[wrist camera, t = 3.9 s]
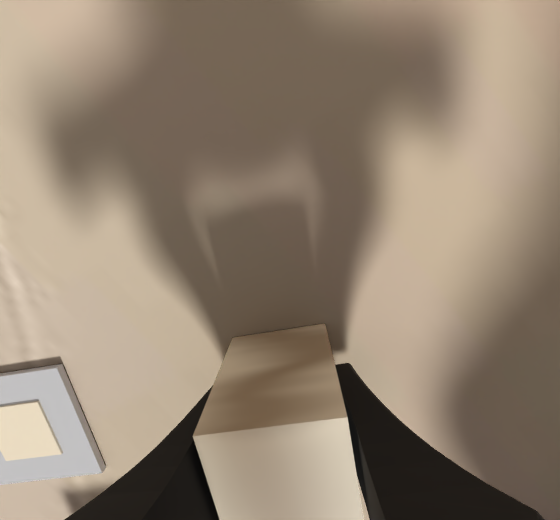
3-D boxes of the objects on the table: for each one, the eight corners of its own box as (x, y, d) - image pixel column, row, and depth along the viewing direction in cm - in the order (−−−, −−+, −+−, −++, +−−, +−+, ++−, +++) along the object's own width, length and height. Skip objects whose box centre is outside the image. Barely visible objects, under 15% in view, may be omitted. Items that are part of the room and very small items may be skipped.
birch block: (325, 323, 12) (347, 417, 7) (338, 403, 13) (366, 535, 8) (232, 337, 12) (192, 436, 7) (252, 414, 13) (228, 547, 8)
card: (62, 363, 13) (54, 369, 12) (106, 467, 14) (101, 475, 14) (-54, 381, 13) (-65, 387, 13) (-1, 479, 15) (-9, 487, 14)
